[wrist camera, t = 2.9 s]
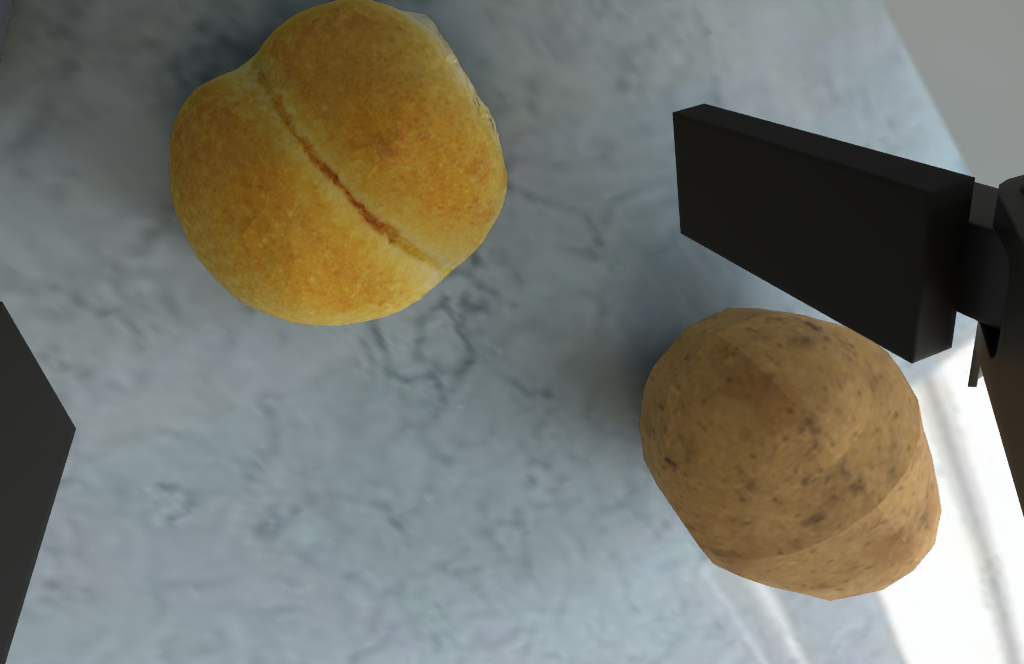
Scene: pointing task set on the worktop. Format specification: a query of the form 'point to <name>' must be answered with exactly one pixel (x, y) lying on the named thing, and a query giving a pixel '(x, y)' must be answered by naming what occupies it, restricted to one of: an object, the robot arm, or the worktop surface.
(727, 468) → the potato
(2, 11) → the blue grey bowl
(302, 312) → the bread roll
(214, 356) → the worktop surface
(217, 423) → the worktop surface
